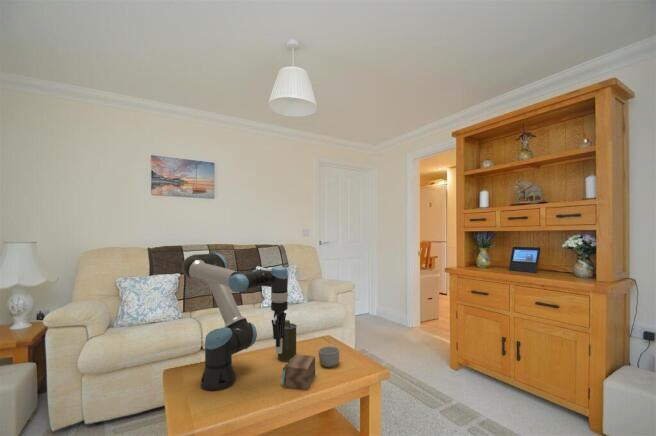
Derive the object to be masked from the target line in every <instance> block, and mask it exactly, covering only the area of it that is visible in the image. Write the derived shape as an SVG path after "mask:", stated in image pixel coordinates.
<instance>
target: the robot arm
mask: <svg viewBox="0 0 656 436" xmlns="http://www.w3.org/2000/svg"><path fill="white" fill-rule="evenodd" d="M181 270H182V273H183V275H184V276H186V277H187V278H190V279H193V280H199V279H201V280H203V282H205V283H207V284H208V285H209V289H210V291H211V292H212V296H213V298H214V301H215V303H216V305H217V308H218V310H219V312H220V315H221V318H222V320H223V322H224V327H220V328H219V327H218V328H215V329H212V330H211V331H209V332H207V334H206V336H205V338H204V339H205V340H204V341H205V342H204V348H205V349H204V361H205V362H204V369H203V372H202V376H201V379H200V387H201V389H203V390H204V391H208V392H209V391H211V392H215V391H221V390H225V389H228V388H229V387H231V386H233V385H234V384H235V383H236V379H237V378H236V377H237V376H236V373H235V369H234V367H233V364H232V363H233V358H232V356H233V355H235V354H237V353H240V352H242V351H244V350H247V349H249V348H250V347H252V346H253V345H255V342H256V341H257V337H258V332H257V328H256V326H255V324H254V323H252V322H248V320H247V318H246V317H244V316H242V314H241V311H240V310H239V307H238V305H237V303H236V300H235V297H234V296H233V293H232V292H234V293H239V292H246V291H247V290H252V289H253V290H254V289H257V288H261V287H267V288H270V291H271V293H270V300H271V301H270V310H271V312H274V314H273V319H271V325H272V335H273V336H272V337H273V340H275V352H274V353H275V354H277V355H278V354H281V353H282V338H284V336H283V335H284V330H285V320H286V319H287V318H286V317H287V312H285V311H287V310H288V303H289V302H288V297H290V294H288V293H289V291H288V289H289V288H288V284H289V272H288V268H287V267H285V266H274V267H272V268H271V270H267V269H261V268H260V269H254V270H252V271H249V272H240V271H238V270H234V269H229V268H227V261H226V258H225V256H223V255H222V254H221V253H217V252H209V253H202V254H201V253H200V254H192V255H189V256H188V257H186V258H185V259H184V260H183V262H182V265H181Z"/></svg>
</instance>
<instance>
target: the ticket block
mask: <svg viewBox="0 0 656 436" xmlns="http://www.w3.org/2000/svg"><path fill="white" fill-rule="evenodd" d="M287 364H288V365H287V366H286V382H285V388H286V389H292V390H303V391H308V389H309V388H310V386H311V384H312V382H313V381H314V379H315V377H316V356H315V355H306V354H304V355H303V354H296V355H295V356H294V357H293V358H292V359H291V361H290V362H289V363H288V362H287Z"/></svg>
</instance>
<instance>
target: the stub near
mask: <svg viewBox="0 0 656 436" xmlns="http://www.w3.org/2000/svg"><path fill="white" fill-rule="evenodd" d="M287 365H288V363H286V364H285V365H284V366H283V367H282V374H281V375H282V376H281V382H280V384H281V385H283V386H284V385H286V366H287Z"/></svg>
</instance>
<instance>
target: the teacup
mask: <svg viewBox="0 0 656 436" xmlns="http://www.w3.org/2000/svg"><path fill="white" fill-rule="evenodd" d="M318 358H319V360H318V361H319V363H320V364H321V365H322V366H323V367H324V368H333V367H335V366H337V365H338V363H339V361H340V348H339V347H337V346H335V345H330V344H328V345H326V346H322V347H320V348H318Z"/></svg>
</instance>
